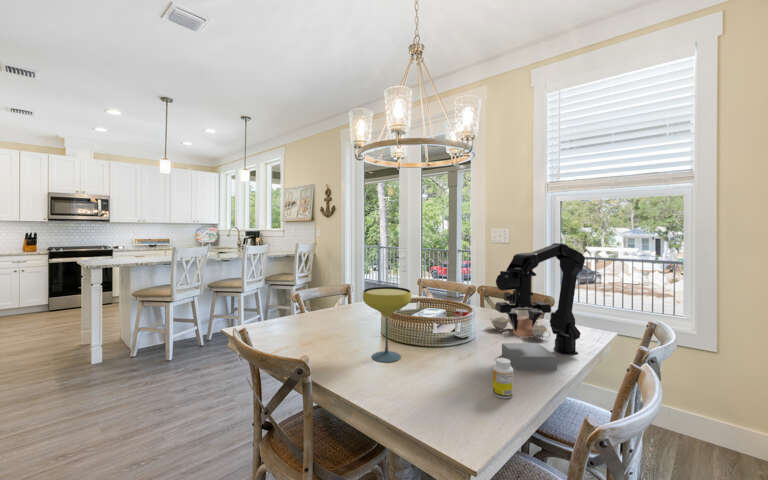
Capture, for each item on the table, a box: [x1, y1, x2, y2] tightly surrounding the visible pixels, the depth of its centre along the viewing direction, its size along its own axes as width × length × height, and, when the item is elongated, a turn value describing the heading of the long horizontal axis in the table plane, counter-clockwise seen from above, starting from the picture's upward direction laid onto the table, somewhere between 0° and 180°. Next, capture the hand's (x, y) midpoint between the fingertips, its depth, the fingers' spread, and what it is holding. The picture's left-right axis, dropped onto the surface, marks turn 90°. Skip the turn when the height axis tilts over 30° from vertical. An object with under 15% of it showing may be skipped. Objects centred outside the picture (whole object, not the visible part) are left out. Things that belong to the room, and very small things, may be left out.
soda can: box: [453, 308, 470, 318], centre depth 155 cm, size 7×7×12 cm
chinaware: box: [489, 304, 551, 340], centre depth 162 cm, size 28×17×17 cm, turn 49°
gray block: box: [501, 342, 558, 371], centre depth 126 cm, size 14×14×5 cm
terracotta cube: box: [512, 317, 533, 338], centre depth 128 cm, size 5×5×6 cm
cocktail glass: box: [362, 286, 412, 363], centre depth 130 cm, size 18×18×25 cm
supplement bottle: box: [492, 357, 514, 400], centre depth 101 cm, size 6×6×10 cm
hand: (522, 330), depth 128 cm, fingers closed on terracotta cube, 5 cm apart
